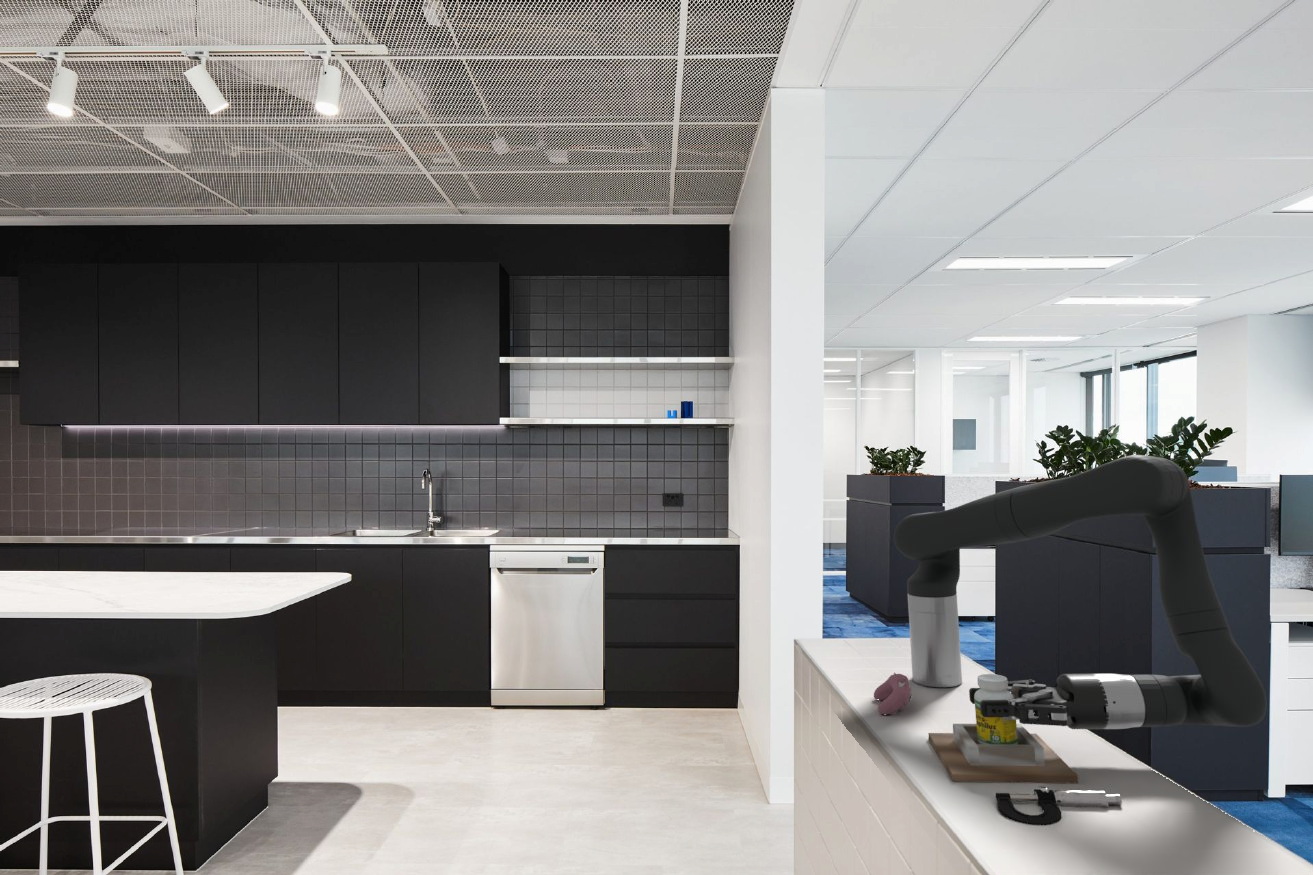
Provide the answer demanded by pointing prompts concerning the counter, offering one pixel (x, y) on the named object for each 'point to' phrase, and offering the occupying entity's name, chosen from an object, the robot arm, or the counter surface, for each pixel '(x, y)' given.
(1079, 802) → the micrometer
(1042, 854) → the counter surface
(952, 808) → the counter surface
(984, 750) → the socket board
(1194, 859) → the counter surface
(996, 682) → the supplement bottle
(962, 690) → the counter surface
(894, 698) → the video game controller
